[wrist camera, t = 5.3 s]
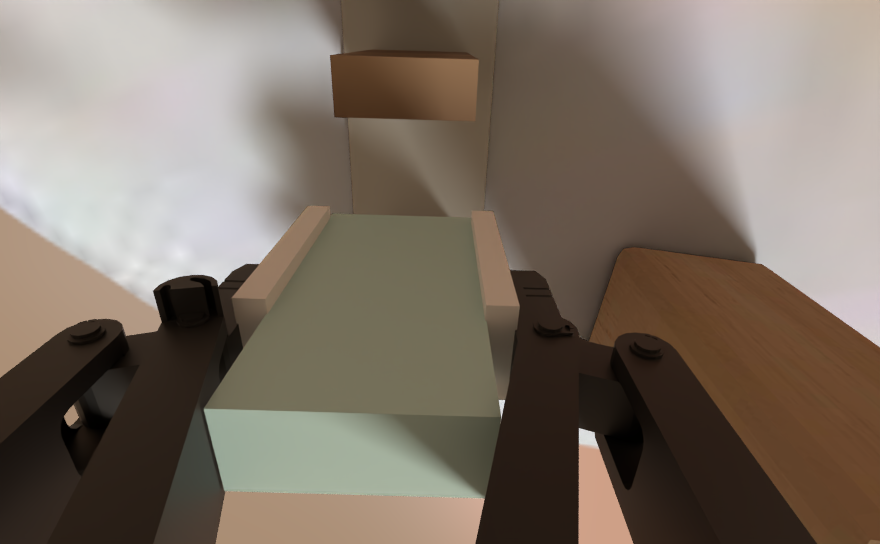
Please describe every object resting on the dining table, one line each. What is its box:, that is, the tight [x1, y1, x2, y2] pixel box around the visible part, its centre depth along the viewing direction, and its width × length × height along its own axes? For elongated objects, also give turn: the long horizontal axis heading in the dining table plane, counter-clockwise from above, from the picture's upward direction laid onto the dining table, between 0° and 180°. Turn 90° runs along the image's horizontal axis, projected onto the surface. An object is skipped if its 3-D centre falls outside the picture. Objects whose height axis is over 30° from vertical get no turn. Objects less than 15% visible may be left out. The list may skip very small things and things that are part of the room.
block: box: [589, 247, 880, 544], centre depth 23 cm, size 10×10×20 cm
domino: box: [330, 49, 479, 121], centre depth 21 cm, size 2×5×10 cm, turn 88°
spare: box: [204, 213, 501, 498], centre depth 13 cm, size 2×5×10 cm, turn 88°
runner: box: [341, 0, 499, 218], centre depth 27 cm, size 28×8×1 cm, turn 178°
